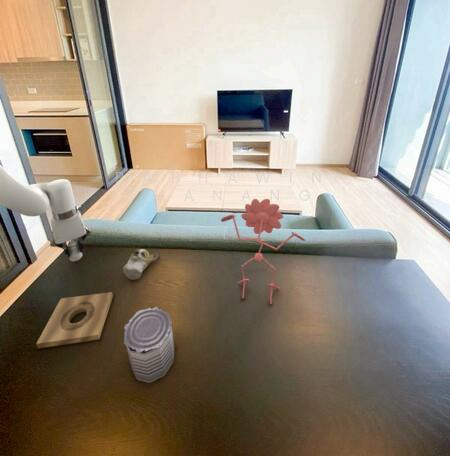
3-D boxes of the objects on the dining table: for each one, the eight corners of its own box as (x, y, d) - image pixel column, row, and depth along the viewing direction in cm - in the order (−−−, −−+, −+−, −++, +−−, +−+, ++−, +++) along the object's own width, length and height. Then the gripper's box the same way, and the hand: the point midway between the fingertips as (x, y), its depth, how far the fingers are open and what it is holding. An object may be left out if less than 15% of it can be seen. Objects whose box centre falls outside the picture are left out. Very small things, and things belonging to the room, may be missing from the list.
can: (129, 345, 68) (122, 315, 63) (170, 328, 72) (166, 298, 68) (132, 393, 58) (125, 360, 54) (179, 369, 62) (175, 338, 58)
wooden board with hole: (38, 348, 67) (36, 343, 67) (62, 302, 80) (60, 298, 80) (99, 339, 69) (97, 334, 69) (113, 296, 82) (112, 291, 82)
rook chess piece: (75, 253, 99) (71, 236, 96) (85, 254, 98) (81, 237, 96) (67, 261, 95) (62, 244, 92) (77, 262, 94) (73, 245, 91)
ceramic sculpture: (112, 262, 85) (136, 236, 99) (115, 282, 87) (138, 254, 101) (139, 267, 83) (160, 240, 97) (141, 287, 85) (161, 258, 99)
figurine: (298, 312, 76) (310, 217, 64) (218, 296, 82) (215, 206, 69) (296, 273, 90) (306, 189, 78) (228, 262, 96) (227, 182, 83)
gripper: (88, 201, 97) (96, 239, 103) (36, 215, 88) (48, 256, 94) (92, 209, 92) (100, 249, 98) (37, 225, 82) (50, 268, 88)
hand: (74, 252), depth 96 cm, fingers closed on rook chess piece, 3 cm apart
